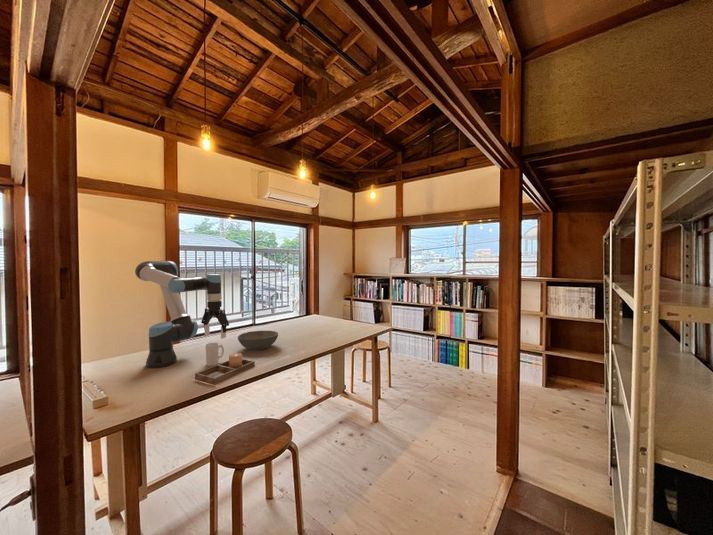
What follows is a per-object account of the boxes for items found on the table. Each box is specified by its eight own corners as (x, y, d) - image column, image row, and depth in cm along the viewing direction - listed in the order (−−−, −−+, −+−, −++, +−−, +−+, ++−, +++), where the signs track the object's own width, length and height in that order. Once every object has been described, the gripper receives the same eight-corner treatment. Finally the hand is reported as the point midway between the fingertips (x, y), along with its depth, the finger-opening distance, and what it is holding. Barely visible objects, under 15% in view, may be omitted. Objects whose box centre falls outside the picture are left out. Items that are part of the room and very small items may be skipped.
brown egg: (226, 368, 163) (226, 356, 163) (236, 364, 170) (236, 352, 169) (235, 370, 160) (235, 358, 160) (245, 366, 167) (245, 354, 167)
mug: (208, 367, 166) (207, 346, 166) (204, 364, 171) (203, 344, 170) (226, 363, 173) (226, 343, 173) (221, 360, 178) (221, 340, 178)
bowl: (230, 354, 189) (230, 339, 188) (247, 342, 215) (247, 328, 214) (271, 355, 188) (271, 339, 187) (282, 342, 214) (282, 329, 213)
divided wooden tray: (195, 379, 150) (195, 373, 150) (235, 362, 174) (235, 357, 174) (215, 384, 144) (215, 378, 144) (254, 366, 168) (254, 361, 168)
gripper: (194, 300, 172) (194, 335, 173) (224, 302, 162) (225, 340, 163) (205, 298, 179) (206, 332, 180) (235, 301, 169) (235, 337, 170)
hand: (215, 336), depth 171 cm, fingers open, 13 cm apart
